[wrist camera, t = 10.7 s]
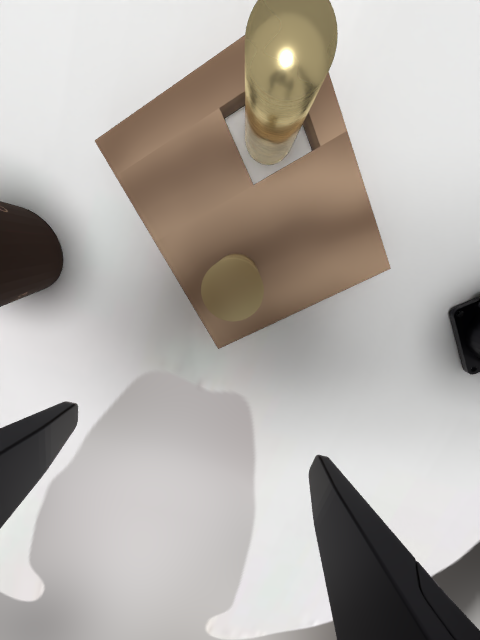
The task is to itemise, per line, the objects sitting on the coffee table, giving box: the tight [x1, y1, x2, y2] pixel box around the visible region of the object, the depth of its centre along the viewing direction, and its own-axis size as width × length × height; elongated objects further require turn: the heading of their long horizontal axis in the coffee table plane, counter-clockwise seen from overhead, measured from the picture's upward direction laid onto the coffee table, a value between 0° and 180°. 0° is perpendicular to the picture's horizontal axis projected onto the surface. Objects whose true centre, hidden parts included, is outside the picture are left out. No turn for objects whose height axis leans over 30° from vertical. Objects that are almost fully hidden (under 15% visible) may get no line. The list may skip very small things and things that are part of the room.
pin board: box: [95, 35, 391, 349], centre depth 14 cm, size 16×14×7 cm
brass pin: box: [245, 0, 337, 165], centre depth 12 cm, size 3×3×8 cm
